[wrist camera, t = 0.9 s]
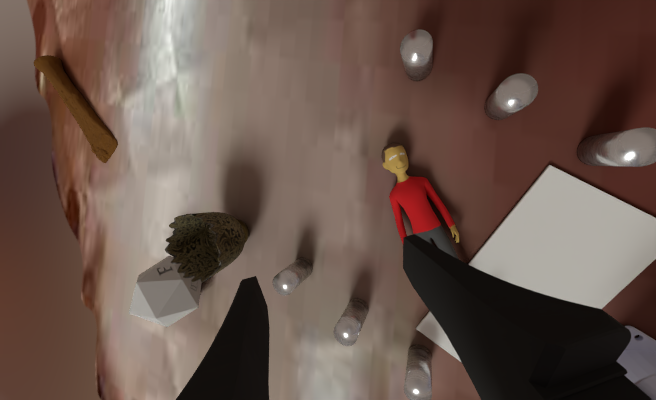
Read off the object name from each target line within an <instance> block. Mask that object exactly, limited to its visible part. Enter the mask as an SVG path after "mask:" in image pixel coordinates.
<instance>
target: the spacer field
mask: <svg viewBox="0 0 656 400" xmlns="http://www.w3.org/2000/svg"><path fill="white" fill-rule="evenodd" d="M400 53H401V56H402V60H403V64H404V67H405V71H406V74H407V76H408V77H409V78H410V79H411V80H413V81H421V80H423V79H425V78H426V77H427V76H428V75H429V74H430V72H431V70H432V58H433V41H432V37H431V35H430V34H429V33H428V32H427V31H425V30H421V29H418V30H414V31H411V32H410V33H408V34H407V35H406V36H405V37H404V39H403V40H402V43H401V46H400ZM537 92H538V85H537V82H536V80H535V79H534V78H533V77H532V76H530V75H527V74H515V75H512V76H510V77H508V78H506V79H505V80H504V81H503V82H502V83H501V84H500V85H499V86H498V88H497V89H496V90H495V91H494V92H493V93H492V94H491V95H490V97H489V98H488V99H487V101H486V102H485V106H484V109H485V113H486V114H487V116H488V117H490V118H491V119H494V120H501V119H505V118H507V117H509V116H510V115H512V114H514V113H515V112H517V111H519V110H521V109H522V108H524V107H526V106H527V105H529V104H530V103H531V102H532V101H533V100H534V99H535V97H536V95H537ZM577 156H578V158H579V160H580V161H581V162H583V163H584V164H587V165H592V166H646V165H649V164H652V163H654V162H656V129H653V128H638V129H632V130H626V131H620V132H614V133H608V134H602V135H596V136H591V137H588V138H586V139H585V140H583V141H582V142H581V143H580V144H579V146H578V148H577ZM312 270H313V268H312V264H311V262H310V261H309V260H307V259H306V258H299V259H298V260H296V261H295V262H294V263H292V264H291V265H289V266H288V267H287V268H285V269H284V270H283V271H281V272H280V273H278V274H277V275H276V276H275V277H274V279H273V286H274V289H275V290H276V291H277V292H278V293H279V294H281V295H288V294H290V293H291V292H292V291H293V290H294V289H295V288H296V287H297V286H299V285H300V284H301V283H302V282H303V281H304V280H305V279H306V278H307V277H308V276H309V275H310V274H311V273H312ZM367 314H368V307H367V305H366V303H365V302H364V301H362V300H360V299H352V300H351V301H350V302H349V304H348V305H347V307H346V309H345V311H344V312H343V314H342V316H341V317H340V319H339V321H338V322H337V324H336V326H335V328H334V336H335V338H336V340H337V341H338V342H339V343H341V344H342V345H345V346H351V345H353V344H354V343H355V342H356V340H357V338H358V335H359V333H360V331H361V328H362V326H363V323H364V321H365V319H366V316H367ZM404 392H405V394H406V396H407V397H408V399H410V400H431V397H432V360H431V353H430V352H429V350H428V349H427V348H425V347H424V346H421V345H413V346H411V347H410V348H409V351H408V358H407V366H406V375H405V383H404Z"/></svg>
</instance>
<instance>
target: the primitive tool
mask: <svg viewBox="0 0 656 400" xmlns="http://www.w3.org/2000/svg"><path fill="white" fill-rule="evenodd" d="M34 66H35V67H36V68H37V69H38V70H39V71H41V72H42V73H44V75H45V76H46V77H47V78H48V80H49V81H50V82H51V83H52V85H53V87H54V88H55V90H57V91H58V93H59V95H60V97H61V98H62V99H63V101H64V103H65V104H66V106H67V107H68V109H69V110H70V112H71V113H72V115H73V117H74V118H75V119H76V121H77V123H78V124H79V126H80V128H81V129H82V131H83V133H84V135H85V136H86V138H87V140H88V141H89V143H90V145H91V148H92V152H93V153H95V154H96V156H97V158H98V159H99V160H101V161H102V162H103V163H106V162H107V161H108V159H109V158H110V157H111V155H112V154H113V153H114V151H115V149H116V147H117V145H118V142H117V140H116V139H115V137H114V136H113V135H112V133H111V132H110V131H109V130H108V128H107V127H106V126H105V125H104V124H103V122H102V121H101V120H100V119H99V117H98V116H97V115H96V114H95V112H94V111H93V110H92V109H91V107H90V106H89V104H88V103H87V102H86V100H85V99H84V98H83V96H82V95H81V93H80V92H79V91H78V90H77V89H76V88H75V86H74V85H73V84H72V82H71V81H70V79H69V78H68V76H67V75H66V74H65V72H64V70H63V64H62V61H61V60H60V59H59V58H57V57H54V56H41V57H39V58H37V59H36V60H35V61H34Z"/></svg>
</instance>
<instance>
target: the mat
mask: <svg viewBox="0 0 656 400" xmlns="http://www.w3.org/2000/svg"><path fill="white" fill-rule="evenodd" d="M655 259H656V218H655V217H653V216H651V215H649V214H647V213H645V212H643V211H641V210H639V209H637V208H635V207H633V206H631V205H629V204H627V203H625V202H623V201H621V200H619V199H617V198H615V197H613V196H611V195H609V194H607V193H605V192H603V191H601V190H599V189H597V188H595V187H593V186H591V185H589V184H587V183H585V182H583V181H581V180H579V179H577V178H575V177H573V176H571V175H569V174H567V173H565V172H563V171H561V170H559V169H557V168H555V167H553V166H551V165H548V167H547V168H546V169H545V170H544V171H543V173H542V174H541V175H540V176H539V178H538V179H537V180H536V181H535V182H534V184H533V185H532V186H531V187H530V189H529V190H528V191H527V192H526V193H525V195H524V196H523V197H522V198H521V200H520V201H519V202H518V203H517V205H516V206H515V207H514V208H513V209H512V211H511V212H510V213H509V214H508V216H507V217H506V218H505V219H504V220H503V222H502V223H501V224H500V225H499V227H498V228H497V229H496V230H495V231H494V233H493V234H492V235H491V236H490V238H489V239H488V240H487V241H486V242H485V244H484V245H483V246H482V247H481V249H480V250H479V251H478V252H477V254H476V255H475V256H474V257H473V258H472V260H471V261H470V262H469V263H468V265H470V266H472V267H474V268H476V269H478V270H481V271H483V272H485V273H487V274H490V275H492V276H494V277H497V278H499V279H501V280H504V281H507V282H509V283H512V284H515V285H517V286H520V287H523V288H526V289H529V290H532V291H535V292H538V293H541V294H544V295H548V296H551V297H555V298H558V299H562V300H565V301H569V302H574V303H578V304H582V305H586V306H590V307H594V308H599V309H602V308H603V307H604V306H605V305H606V304H607V303H608V302H609V301H611V300H612V299H613V298H614V297H615V296H616V295H617V294H618V293H619V292H620V291H621V290H622V289H624V288H625V287H626V286H627V285H628V284H629V283H630V282H631V281H632V280H633V279H634V278H635V277H637V276H638V275H639V274H640V273H641V272H642V271H643V270H644V269H645V268H646V267H647V266H648V265H650V264H651V263H652V262H653V261H654V260H655ZM416 329H417V330H418V331H420V332H421V333H422V334H424V335H425V336H426V337H428V338H429V339H430V340H432V341H433V342H435V343H436V344H437V345H439V346H440V347H441V348H443V349H444V350H445V351H447V352H448V353H450V354H451V355H452V356H454V357H455V358H456V359H458V360H459V361H460V362H461V360H460V358H459V356H458V355H457V353H456V351H455V349H454V348H453V346H452V344H451V342H450V341H449V339H448V337H447V335H446V334H445V332H444V331H443V329H442V327H441V326H440V325H439V323H438V322H437V320H436V319H435V317H434V316H433V315H432V313H431V312H430V311H429V312H428V314H427V315H426V316H425V317H424V318H423V320H422V321H421V322H420V323H419V325H418V326H417V327H416Z"/></svg>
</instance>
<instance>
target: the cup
mask: <svg viewBox="0 0 656 400" xmlns="http://www.w3.org/2000/svg"><path fill="white" fill-rule="evenodd" d="M169 227H171V228H174V229H175V230H174V231H173V235H172V236H171V237H169V238H167V239H166V241H167V242H169V243H170V244H169V245H168V246H167V247H166V249H165V251H166V252H167V253H168V254H170V255H172V256H174V257H175V258H174V259H172V261H171V262H170V263H172V264H181V265H180V266H179V268H178V270H177V272H178V273H183V274H184V275H183V278H191V277H194V278H193V279H192V280H191V282H195V281H197V280H201V282H204V281H206V280H208V279H209V278H211V277H212V276H213V275H215V274H216V273H218V272H219V271H221V270H222V269H224V268H225V267H226V266H228V265H229V264H230V263H232V262H233V261H234V260H235V259H236V258H237V257H238V256H239V255H240V253H241V252H242V250H243V247H244V244H245V242H246V241H247V239H248V236H249V230H248V227H247V225H246V224H245V223H244V222H243V221H241V220H238V219H235V218H234V217H232V216H231V215H228V214H225V213H220V212H209V213H197V214H186V215H181V216H178V217H176V218H174V222H173V223H171V224H170V225H169Z"/></svg>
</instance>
